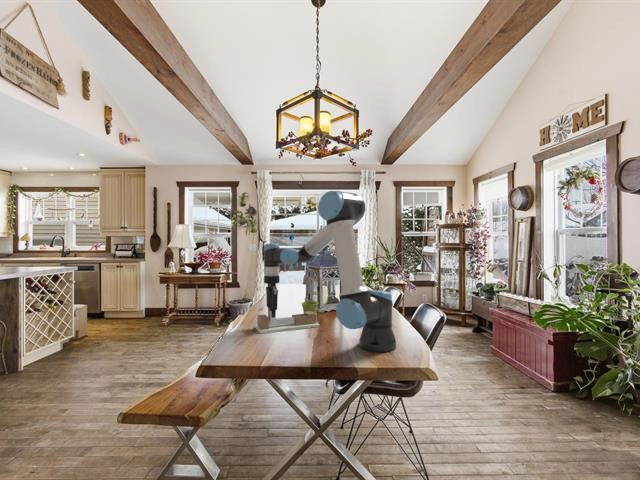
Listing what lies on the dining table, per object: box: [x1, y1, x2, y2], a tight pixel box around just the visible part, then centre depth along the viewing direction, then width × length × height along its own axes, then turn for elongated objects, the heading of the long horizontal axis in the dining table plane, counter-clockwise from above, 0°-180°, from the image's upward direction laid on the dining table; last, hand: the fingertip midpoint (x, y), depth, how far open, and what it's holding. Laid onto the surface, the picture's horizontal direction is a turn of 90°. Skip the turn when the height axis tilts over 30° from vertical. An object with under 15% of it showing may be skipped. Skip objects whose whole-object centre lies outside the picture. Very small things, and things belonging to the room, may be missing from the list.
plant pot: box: [301, 301, 319, 315], centre depth 188 cm, size 9×9×9 cm
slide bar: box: [267, 307, 295, 327], centre depth 169 cm, size 3×17×9 cm, turn 114°
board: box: [254, 311, 320, 335], centre depth 170 cm, size 12×30×6 cm, turn 114°
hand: (271, 322), depth 167 cm, fingers closed on slide bar, 3 cm apart
